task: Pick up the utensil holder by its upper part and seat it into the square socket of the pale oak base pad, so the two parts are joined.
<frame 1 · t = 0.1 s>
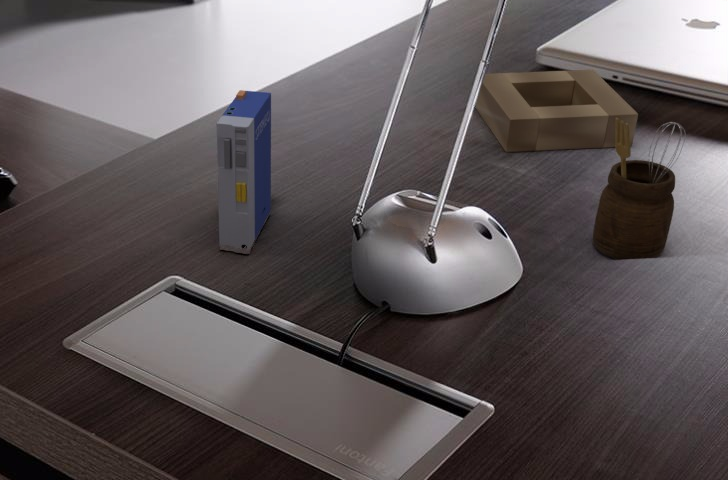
utensil holder: (625, 249, 93), on the table
socket pad: (548, 124, 115), on the table
blue grey plc module: (246, 234, 96), on the table
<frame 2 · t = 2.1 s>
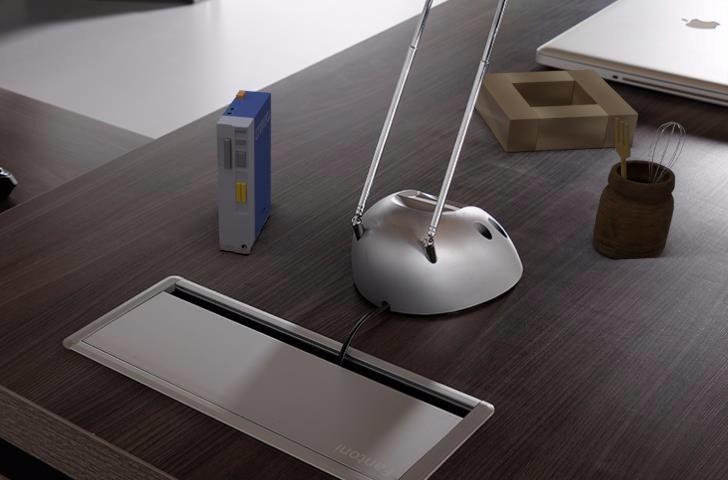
nothing on the table moved.
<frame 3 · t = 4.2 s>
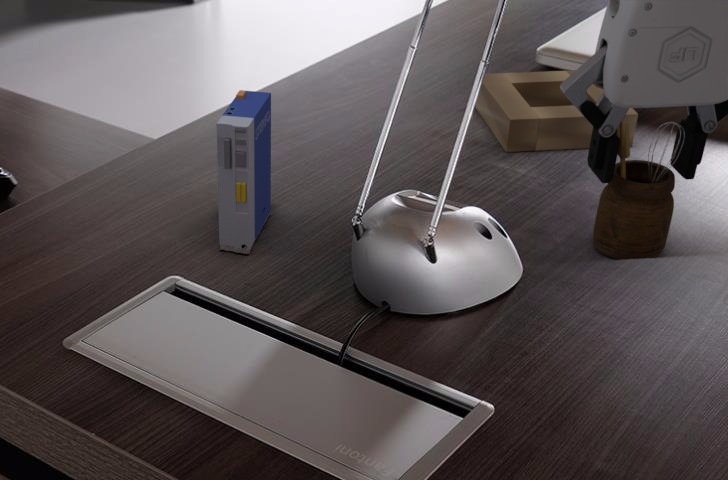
hand: (641, 172, 89), 7 cm above the table, tool pointing down, fingers closed on utensil holder, 6 cm apart
utensil holder: (625, 249, 93), on the table, touching gripper
everything else where it was.
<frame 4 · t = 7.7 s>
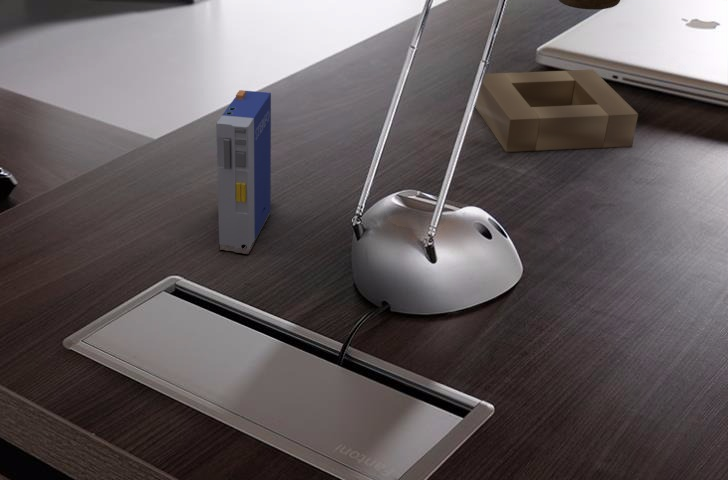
utensil holder: (586, 3, 102), point 15 cm above the table, touching gripper
everything else where it was.
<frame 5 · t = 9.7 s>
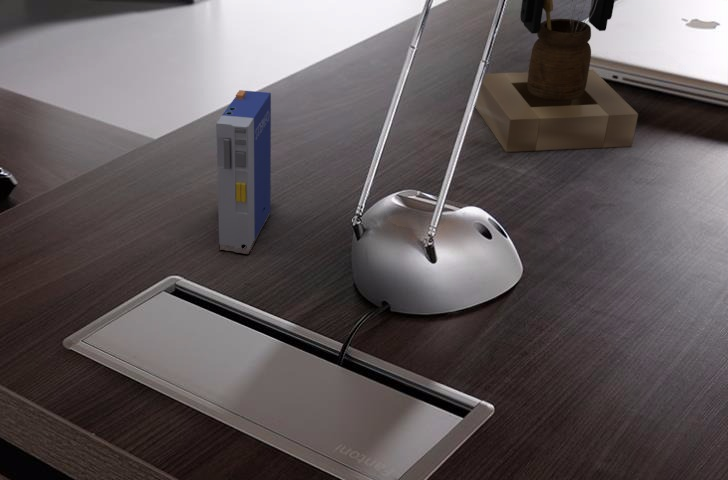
hand: (564, 26, 109), 11 cm above the table, tool pointing down, fingers closed on utensil holder, 6 cm apart
utensil holder: (553, 94, 113), point 3 cm above the table, touching gripper
everything else where it was.
when the fingers open (7 cm above the table, at t = 11.2 s): utensil holder stays where it is, resting in socket pad.
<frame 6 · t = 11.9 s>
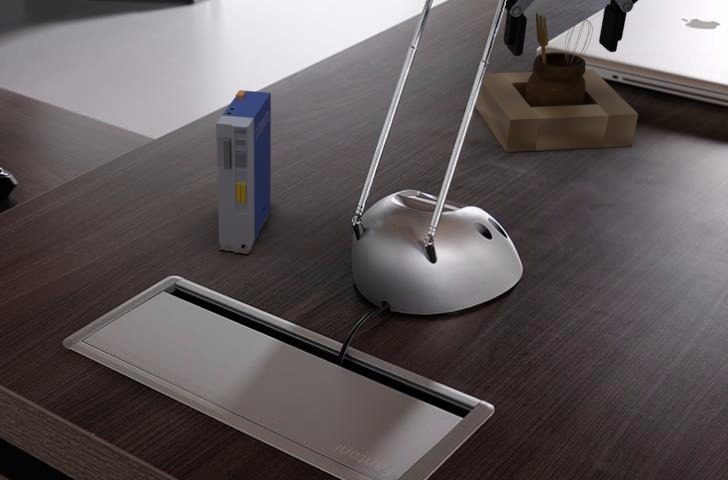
hand: (560, 49, 111), 8 cm above the table, tool pointing down, fingers open, 9 cm apart
utensil holder: (548, 126, 115), resting in socket pad
everything else where it was.
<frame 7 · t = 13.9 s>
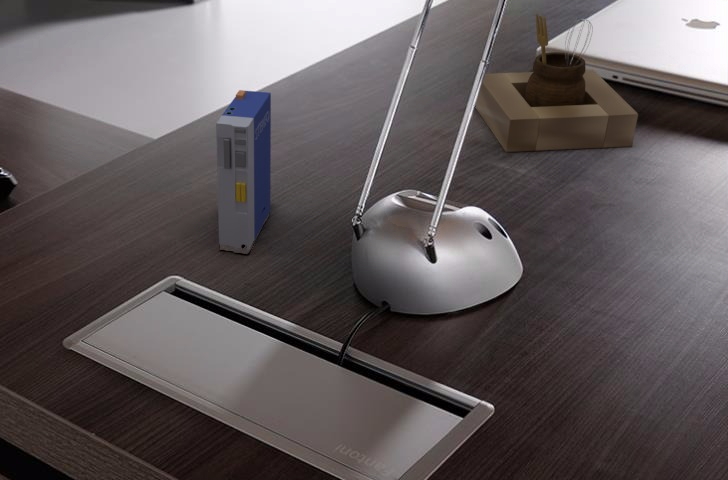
nothing on the table moved.
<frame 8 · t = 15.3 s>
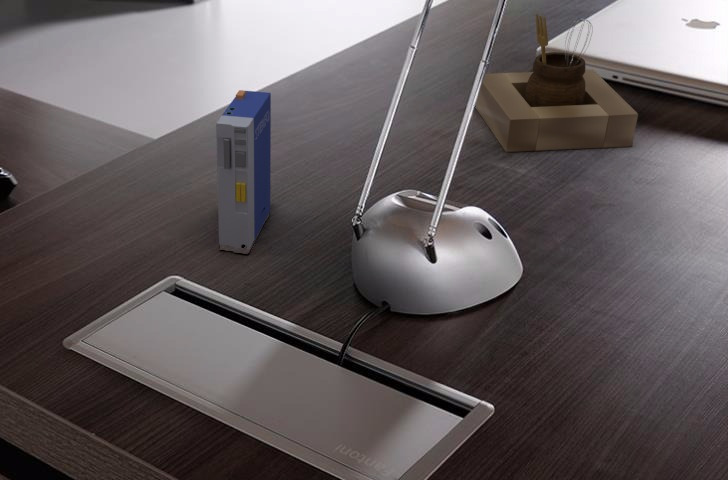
nothing on the table moved.
at the end: utensil holder 0.1 cm off-centre in the socket pad, point 0.0 cm above the socket pad's base; utensil holder tilted 0°; the gripper is holding nothing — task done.
